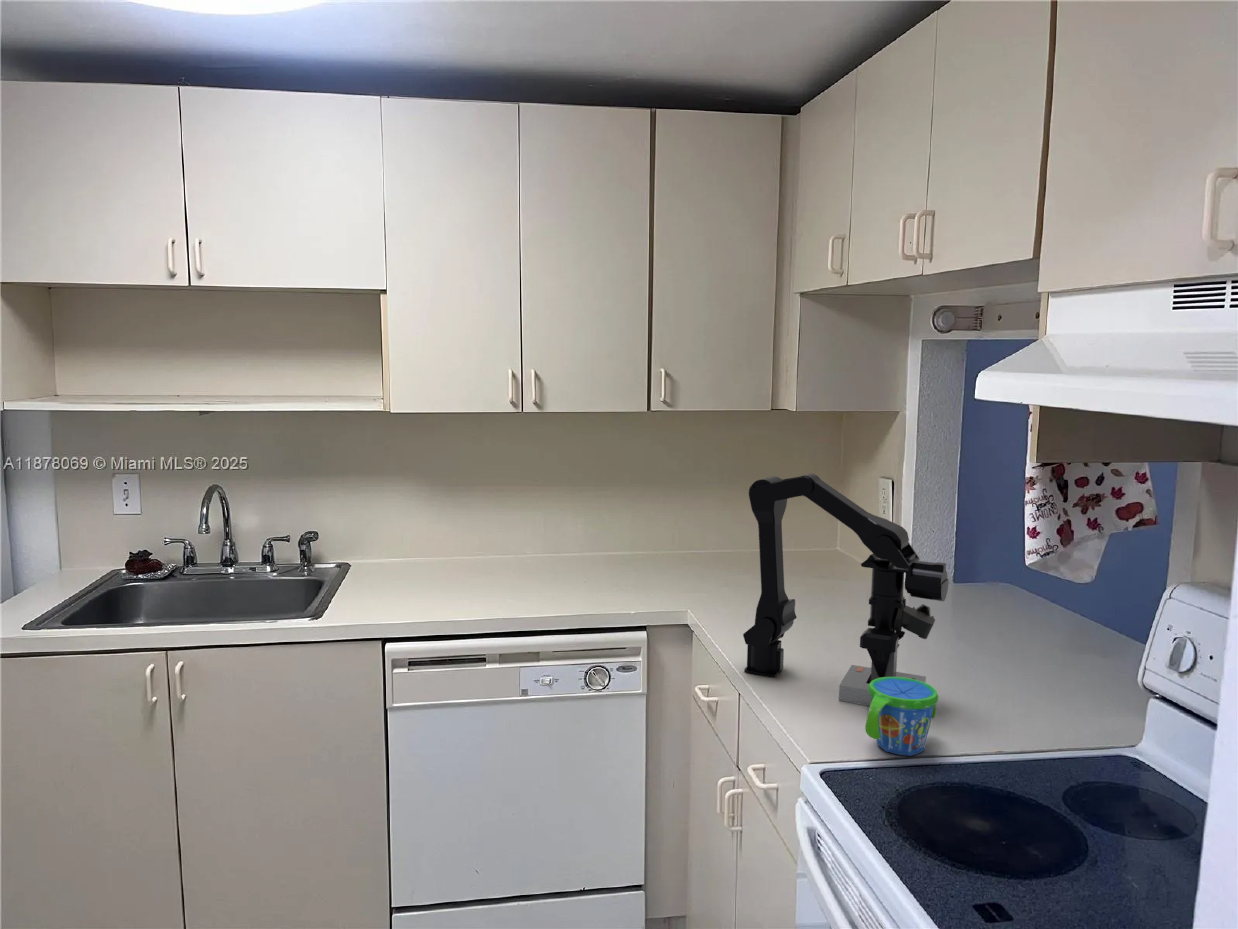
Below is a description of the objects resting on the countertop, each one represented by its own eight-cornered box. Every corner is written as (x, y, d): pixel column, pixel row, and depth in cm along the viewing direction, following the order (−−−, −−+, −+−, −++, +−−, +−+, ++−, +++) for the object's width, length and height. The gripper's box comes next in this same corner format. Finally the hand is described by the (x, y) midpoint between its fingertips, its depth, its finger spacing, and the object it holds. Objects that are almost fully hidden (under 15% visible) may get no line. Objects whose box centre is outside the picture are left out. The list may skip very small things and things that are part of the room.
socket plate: (838, 700, 158) (839, 684, 157) (851, 679, 169) (851, 664, 168) (917, 714, 152) (918, 698, 151) (925, 691, 162) (926, 676, 162)
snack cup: (908, 725, 147) (911, 669, 146) (959, 749, 138) (962, 689, 137) (841, 744, 140) (844, 685, 138) (890, 771, 130) (893, 708, 129)
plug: (870, 685, 159) (872, 638, 158) (874, 678, 163) (876, 632, 161) (892, 689, 157) (895, 641, 156) (895, 682, 161) (898, 635, 160)
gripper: (927, 611, 146) (922, 698, 148) (938, 586, 163) (933, 664, 165) (861, 603, 151) (857, 687, 153) (878, 579, 167) (874, 655, 169)
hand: (883, 673), depth 160 cm, fingers closed on plug, 4 cm apart
